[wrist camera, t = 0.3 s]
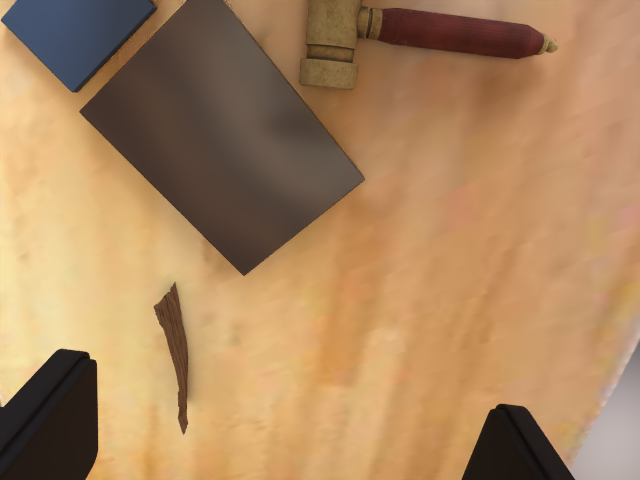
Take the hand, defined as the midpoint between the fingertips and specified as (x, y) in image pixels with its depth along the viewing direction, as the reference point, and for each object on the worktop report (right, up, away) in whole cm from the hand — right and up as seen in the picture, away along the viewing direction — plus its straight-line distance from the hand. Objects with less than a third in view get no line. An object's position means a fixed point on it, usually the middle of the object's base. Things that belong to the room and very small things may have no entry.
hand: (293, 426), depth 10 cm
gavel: (+10, +22, +25) cm, 34 cm away
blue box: (-19, +22, +23) cm, 37 cm away
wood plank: (-14, -7, +35) cm, 39 cm away
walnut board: (-7, +13, +27) cm, 31 cm away
